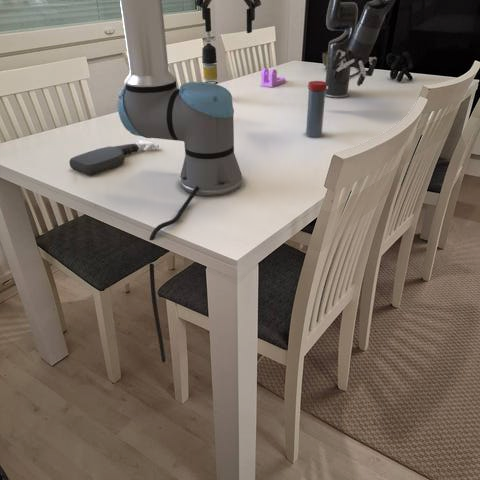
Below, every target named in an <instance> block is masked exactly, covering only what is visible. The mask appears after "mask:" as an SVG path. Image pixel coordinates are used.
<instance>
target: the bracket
mask: <svg viewBox="0 0 480 480" xmlns="http://www.w3.org/2000/svg"><path fill="white" fill-rule="evenodd" d="M284 83H286V78H285V77H284V76H283V77H281V76H278V71H277V69H273V68H271V69H270V71H269V68H266V67H264V68H262V69H261V72H260V86H262V87H267V88H268V87H269V88H273V87H276V86H279V85H282V84H284Z"/></svg>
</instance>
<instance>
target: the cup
mask: <svg viewBox="0 0 480 480" xmlns="http://www.w3.org/2000/svg"><path fill="white" fill-rule="evenodd" d="M327 58H328V51H324V52H322V64H323V66H324V68H325V71H326V70H327Z"/></svg>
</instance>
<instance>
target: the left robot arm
mask: <svg viewBox="0 0 480 480" xmlns="http://www.w3.org/2000/svg"><path fill="white" fill-rule="evenodd" d="M212 1H213V0H196V1H195V6H197V7H200V8H201V12H202V13H201V16H202V17H201V18H202V20H203V21H204V24H205V33H206V32H210V33H211V32H212V15H211V7H209V5H210V4H211V3H212ZM243 1H244V2H245V4H246V5H247V6H248V8H246V34H251V33H252V32H253V21H255V19H256V8H258V7H260V6H261V5H262V2H261V0H243ZM119 3H120V9H121V17H122V24H123V32H124V37H125V45H126V51H127V58H128V67H129V74H128V76H127V77H126V78H125V80H124V86H123V87H122V89H121V90H120V92H119V94H118V100H117V113H118V116H119V119H120V121H121V124H122V126H123V127H124V128H125V130H126V131H128V132H129V133H130V134H131V135H133V136H137V137H141V138H144V139H159V140H166V141H167V140H169V141H179V142H183V143H184V154H185V155H184V158H183V164H182V168H181V171H180V177H179V183H180V184H179V185H180V188H181V189H182V191H184V192H186V193H187V194H189V196H188V197H187V198H186V200H185V201H184V203H183V205H182V206H181V208H180V209H179V210H178V212H177V213H176V215H175V217H173V218H172V219H170V220H167V221H165V222H162V223H160V224H158V225H157V226H156V227H155V228H154V229H153V230H152V232H151V234H150V236H149V239H148V240H149V241H153V240H154V239H155V238H156V236H157V234H158V232H159V231H161V230H162V229H164V228H166V227H169V226H172V225H174V224H175V223H176V222H178V220H180V218H181V217H182V215H183V213H184V212H185V210H186V209H187V207H188V205H189V204H190V203H191V202H192V200H193V198H194V197H195V196H199V197H221V196H224V195H229V194H232V193H234V192H235V191H237V190H239V189H240V188H241V187H242V185H243V174H242V171H241V168H240V165H239V163H238V160H237V157H236V154H235V132H234V131H235V129H234V127H235V126H234V122H235V121H234V114H235V109H234V104H233V96H232V93H231V91H230V90H228V89H227V88H226V87H224V86H222V85H219V84H218V83H217V84H215V83H214V82H207V81H199V82H198V81H189V82H185V83H183V84H181V85H180V87H179V88H177V87H178V86H177V77H176V76H175V75H174V74H173V73H171V71H170V70H169V60H168V52H167V51H168V50H167V40H166V30H165V21H164V18H165V17H164V10H163V9H164V7H163V0H119ZM155 281H156V280H155V264H154V263H152V262H151V263H150V262H149V283H150V295H151V302H152V311H153V317H154V322H155V327H156V333H157V339H158V344H159V351H160V358H161V362H162V363H166V353H165V352H166V351H165V347H164V341H163V334H162V329H161V328H162V327H161V322H160V317H159V311H158V310H159V309H158V302H157V293H156V283H155Z"/></svg>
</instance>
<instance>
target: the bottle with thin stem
mask: <svg viewBox="0 0 480 480" xmlns="http://www.w3.org/2000/svg"><path fill="white" fill-rule="evenodd" d="M205 33H206V39H207V40H206V42H207V43H206V45H204V46H202V49H201V50H202V51H201V52H202V54H201V55H202V57H201V58H202V61H201V63H202V71H203V72H202V73H203V74H202V75H203V80H204V81H206V82H207V83H214V84H217V85H218V84H219V82H218V81H216V80H218V64H216V63H218V61H217V48H216V47H215V46H214V45H212V43H210V42H211V40H210V39H211V31H210V32H206V31H205Z"/></svg>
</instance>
